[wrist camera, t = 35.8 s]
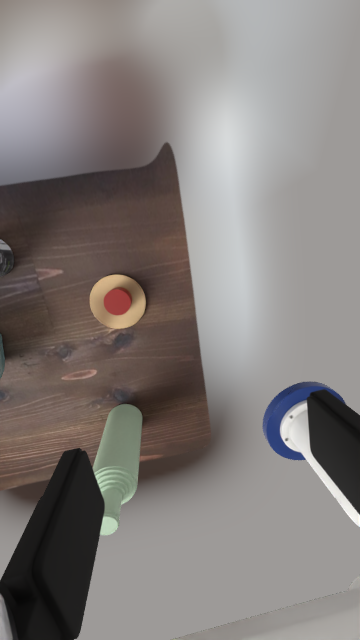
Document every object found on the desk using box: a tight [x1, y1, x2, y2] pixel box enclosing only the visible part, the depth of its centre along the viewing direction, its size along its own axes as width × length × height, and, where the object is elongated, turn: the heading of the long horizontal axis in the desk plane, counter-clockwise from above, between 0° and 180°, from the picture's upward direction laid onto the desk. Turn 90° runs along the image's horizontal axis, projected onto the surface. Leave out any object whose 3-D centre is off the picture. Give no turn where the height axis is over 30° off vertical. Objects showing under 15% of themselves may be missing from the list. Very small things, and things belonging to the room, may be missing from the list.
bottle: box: [93, 404, 143, 535], centre depth 37 cm, size 6×6×19 cm
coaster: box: [90, 274, 146, 329], centre depth 40 cm, size 9×9×1 cm
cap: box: [104, 287, 132, 316], centre depth 38 cm, size 4×4×3 cm
